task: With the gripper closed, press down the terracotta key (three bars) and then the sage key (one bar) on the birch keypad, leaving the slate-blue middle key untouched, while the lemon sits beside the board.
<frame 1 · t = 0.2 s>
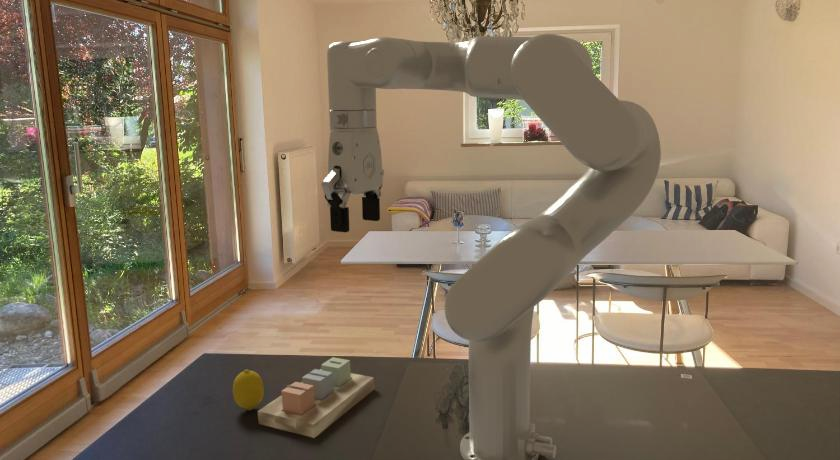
hand: (356, 225, 106), 35 cm above the table, tool pointing down, fingers open, 9 cm apart
lemon: (250, 410, 119), on the table
key sage: (336, 373, 124), point 4 cm above the table, slide at 0.0 cm
key slate: (318, 385, 119), point 4 cm above the table, slide at 0.0 cm
key terracotta: (298, 399, 113), point 4 cm above the table, slide at 0.0 cm
keypad board: (319, 405, 119), on the table
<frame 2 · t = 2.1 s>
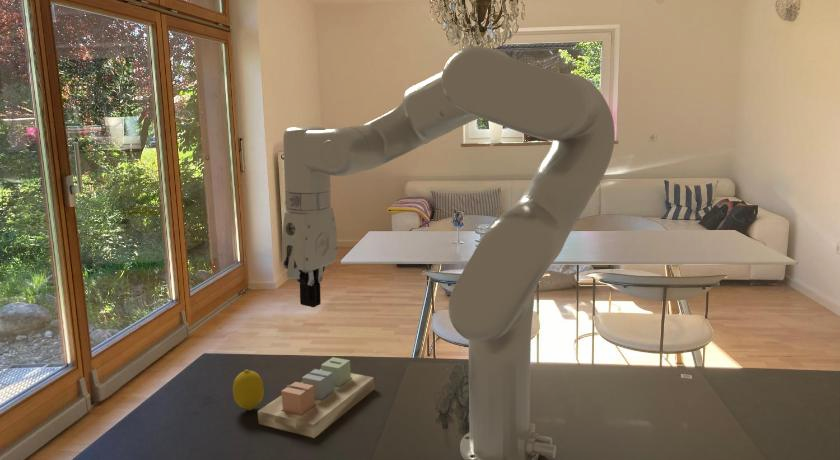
hand: (310, 304, 111), 21 cm above the table, tool pointing down, fingers closed
nothing on the table moved.
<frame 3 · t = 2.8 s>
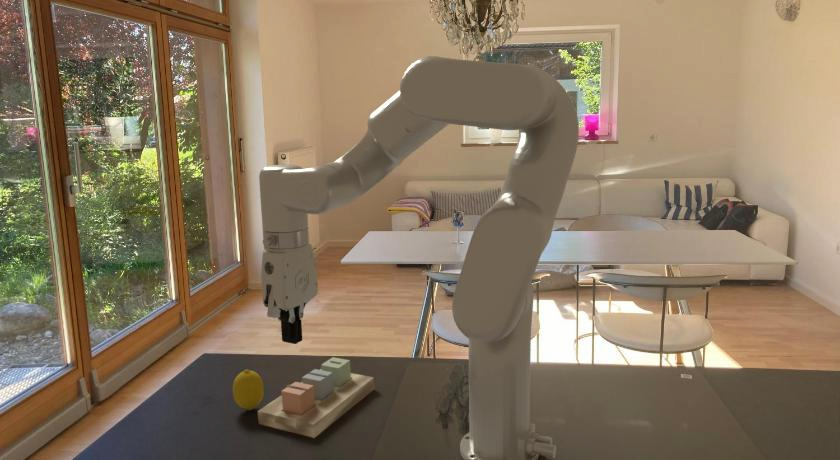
hand: (292, 341, 111), 15 cm above the table, tool pointing down, fingers closed
nothing on the table moved.
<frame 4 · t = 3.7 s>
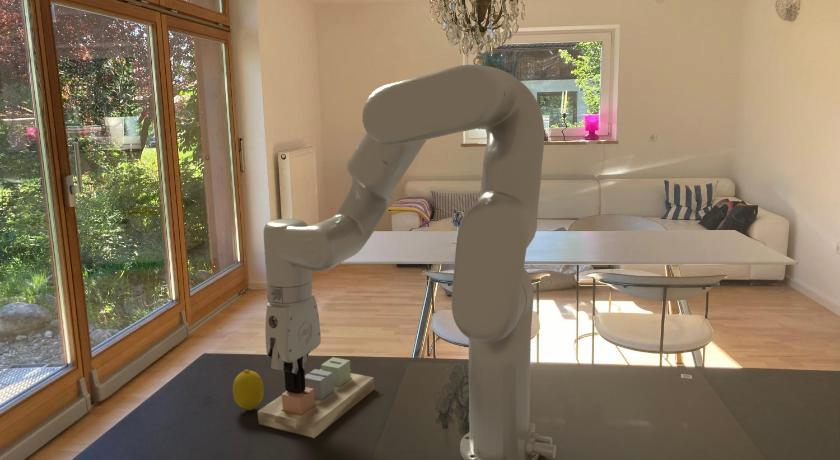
hand: (295, 390, 113), 6 cm above the table, tool pointing down, fingers closed
key terracotta: (298, 402, 114), point 3 cm above the table, slide at -0.6 cm, touching gripper
everything else where it was.
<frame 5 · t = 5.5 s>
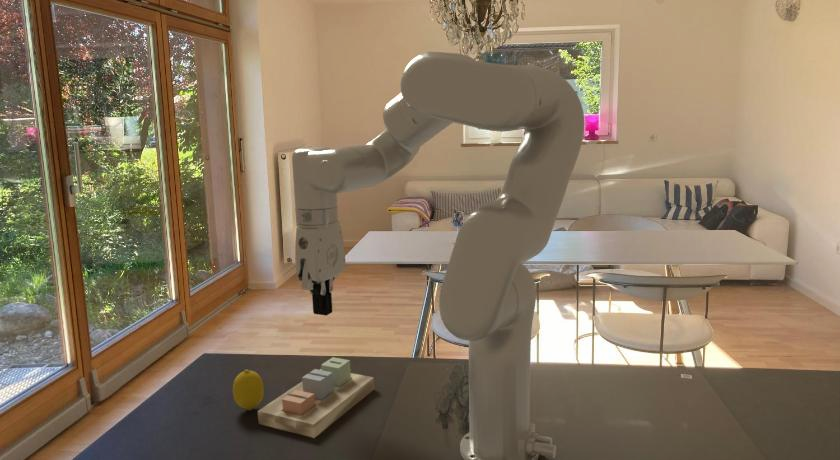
hand: (322, 313, 119), 17 cm above the table, tool pointing down, fingers closed
key terracotta: (298, 407, 114), point 2 cm above the table, slide at -1.6 cm
everything else where it was.
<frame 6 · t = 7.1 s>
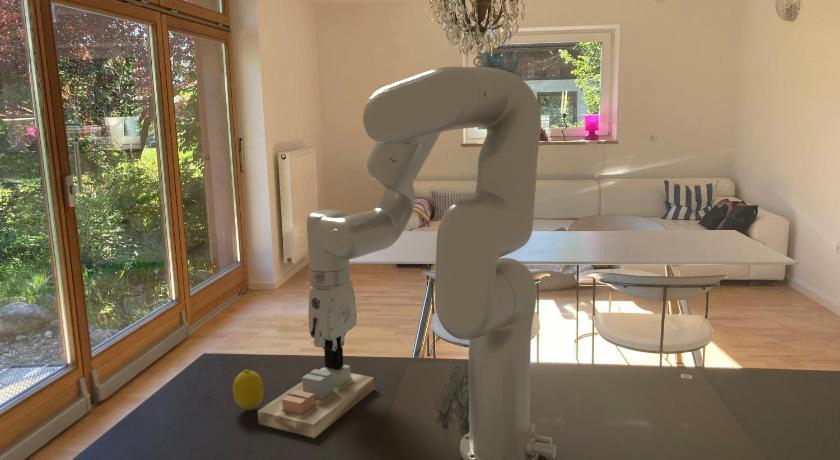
hand: (334, 366, 124), 5 cm above the table, tool pointing down, fingers closed
key sage: (336, 378, 124), point 3 cm above the table, slide at -1.1 cm, touching gripper
everything else where it was.
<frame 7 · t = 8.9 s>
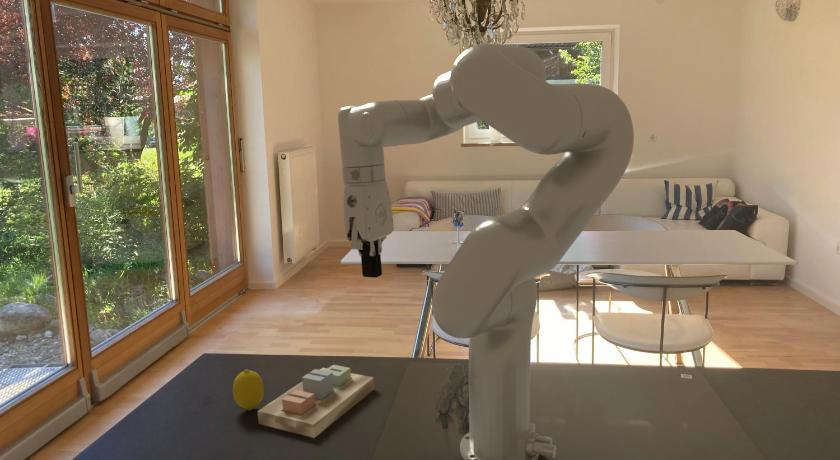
hand: (372, 275, 117), 24 cm above the table, tool pointing down, fingers closed
key sage: (336, 380, 124), point 2 cm above the table, slide at -1.6 cm
everything else where it was.
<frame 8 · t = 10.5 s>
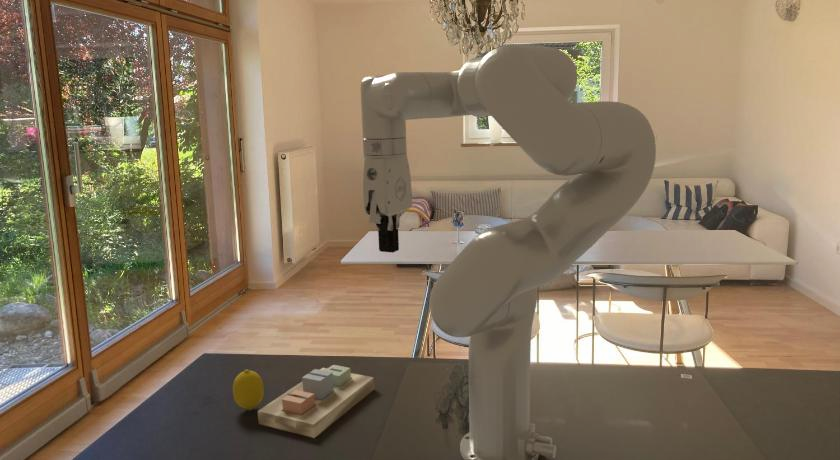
hand: (389, 250, 115), 29 cm above the table, tool pointing down, fingers closed
nothing on the table moved.
at the end: key terracotta slide at -1.6 cm; key sage slide at -1.6 cm; key slate slide at 0.0 cm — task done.
